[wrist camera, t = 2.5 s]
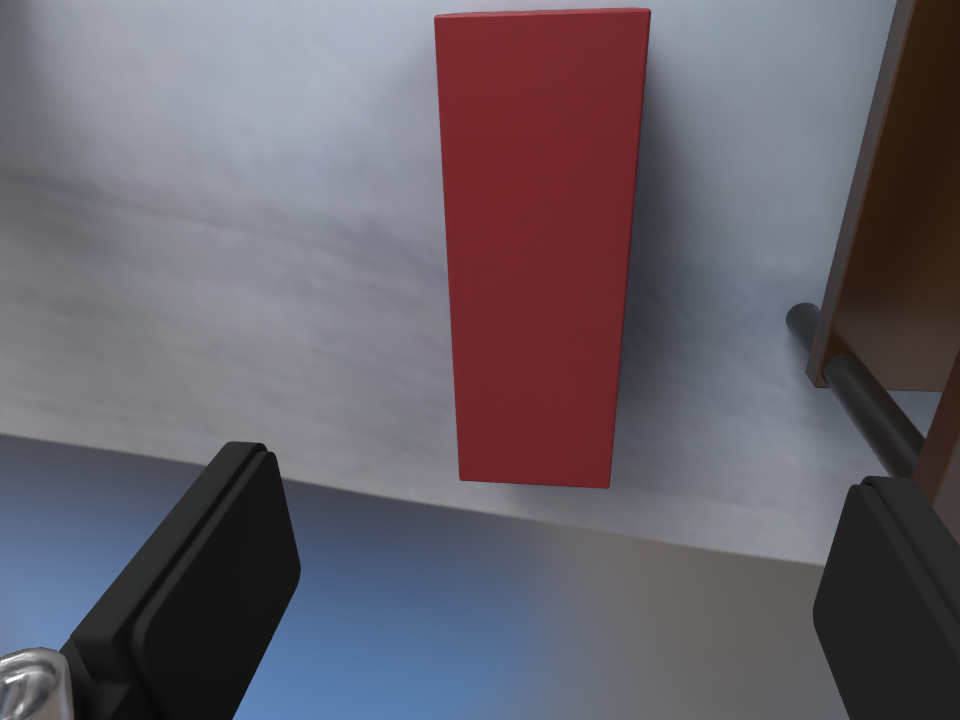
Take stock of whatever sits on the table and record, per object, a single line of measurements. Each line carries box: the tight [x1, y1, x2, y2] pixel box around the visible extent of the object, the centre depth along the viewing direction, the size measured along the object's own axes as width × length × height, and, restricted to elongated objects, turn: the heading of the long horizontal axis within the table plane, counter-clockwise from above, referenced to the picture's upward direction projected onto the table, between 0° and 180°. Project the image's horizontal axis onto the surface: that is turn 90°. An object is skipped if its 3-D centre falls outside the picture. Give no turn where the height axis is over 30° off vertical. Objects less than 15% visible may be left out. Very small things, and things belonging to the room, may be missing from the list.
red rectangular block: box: [434, 8, 651, 489], centre depth 22 cm, size 5×15×5 cm, turn 1°
